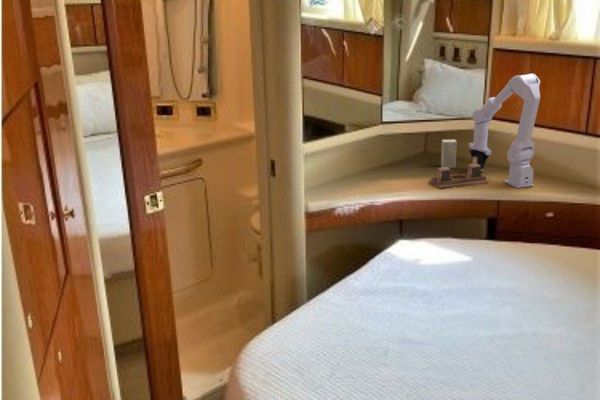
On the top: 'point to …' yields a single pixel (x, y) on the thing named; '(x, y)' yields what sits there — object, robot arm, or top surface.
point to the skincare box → (448, 153)
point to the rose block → (476, 162)
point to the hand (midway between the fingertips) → (478, 167)
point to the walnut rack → (458, 178)
